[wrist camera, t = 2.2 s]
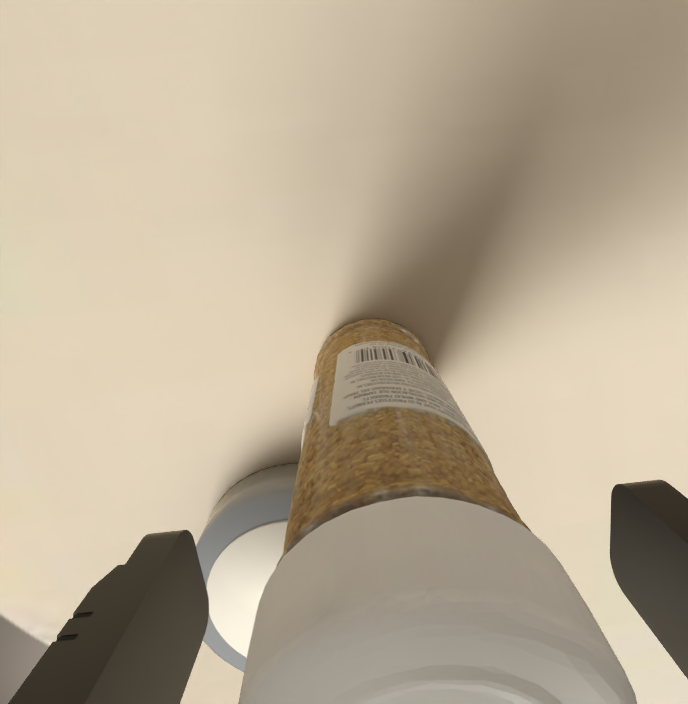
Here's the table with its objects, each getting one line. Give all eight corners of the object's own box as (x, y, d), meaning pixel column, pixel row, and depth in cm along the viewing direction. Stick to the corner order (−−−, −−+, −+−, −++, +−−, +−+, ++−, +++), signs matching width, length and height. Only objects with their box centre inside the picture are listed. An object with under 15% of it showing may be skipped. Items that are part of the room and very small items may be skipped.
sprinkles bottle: (294, 390, 18) (150, 832, 5) (354, 292, 17) (372, 532, 4) (391, 445, 18) (486, 963, 6) (455, 354, 17) (763, 739, 4)
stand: (182, 476, 19) (157, 515, 16) (395, 451, 19) (402, 487, 16) (227, 641, 21) (210, 698, 19) (415, 623, 21) (424, 678, 18)
